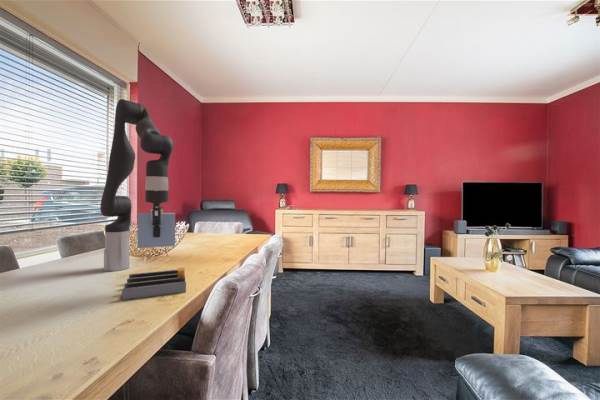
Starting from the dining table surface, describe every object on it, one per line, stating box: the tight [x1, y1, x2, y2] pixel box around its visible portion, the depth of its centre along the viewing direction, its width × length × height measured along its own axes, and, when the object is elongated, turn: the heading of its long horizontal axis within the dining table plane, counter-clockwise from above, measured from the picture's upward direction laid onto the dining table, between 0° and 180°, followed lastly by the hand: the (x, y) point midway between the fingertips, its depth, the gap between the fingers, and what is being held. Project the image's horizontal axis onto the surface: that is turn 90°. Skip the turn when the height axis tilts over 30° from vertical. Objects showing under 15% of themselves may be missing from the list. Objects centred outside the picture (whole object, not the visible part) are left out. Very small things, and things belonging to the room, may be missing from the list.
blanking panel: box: [137, 212, 176, 249], centre depth 100 cm, size 12×3×12 cm, turn 116°
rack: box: [121, 267, 187, 302], centre depth 100 cm, size 19×18×6 cm
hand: (156, 236), depth 100 cm, fingers closed on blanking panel, 3 cm apart
